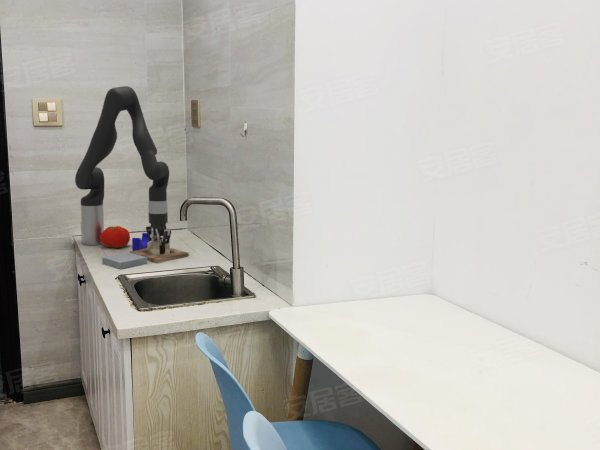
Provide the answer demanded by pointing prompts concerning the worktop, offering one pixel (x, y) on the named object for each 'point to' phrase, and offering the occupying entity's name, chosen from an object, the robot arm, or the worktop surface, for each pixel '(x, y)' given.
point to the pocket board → (173, 255)
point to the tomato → (115, 237)
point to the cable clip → (140, 242)
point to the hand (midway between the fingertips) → (158, 252)
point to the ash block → (157, 248)
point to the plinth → (124, 260)
